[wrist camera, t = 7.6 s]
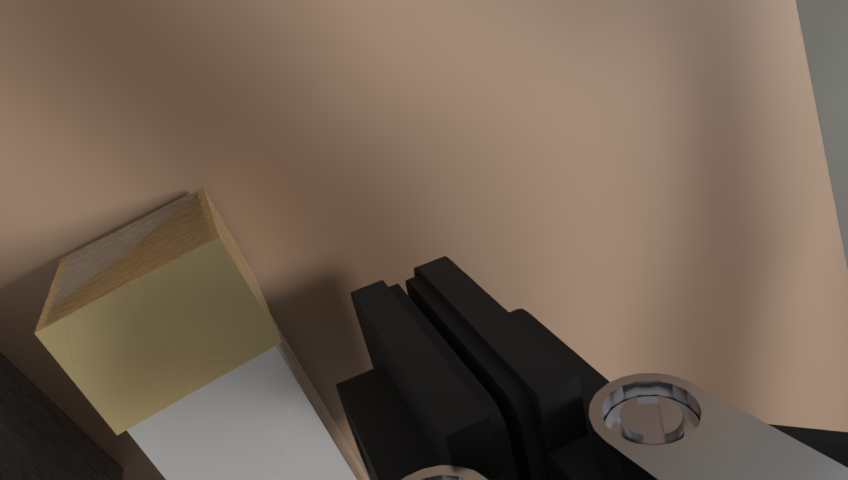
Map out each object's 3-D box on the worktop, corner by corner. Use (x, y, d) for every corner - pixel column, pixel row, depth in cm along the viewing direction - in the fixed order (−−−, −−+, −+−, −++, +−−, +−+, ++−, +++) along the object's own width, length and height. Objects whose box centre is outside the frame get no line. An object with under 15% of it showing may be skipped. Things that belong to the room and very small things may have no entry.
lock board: (222, 894, 17) (229, 967, 16) (-720, 368, 8) (-891, 438, 7) (830, 396, 20) (877, 423, 19) (649, -365, 11) (715, -415, 10)
